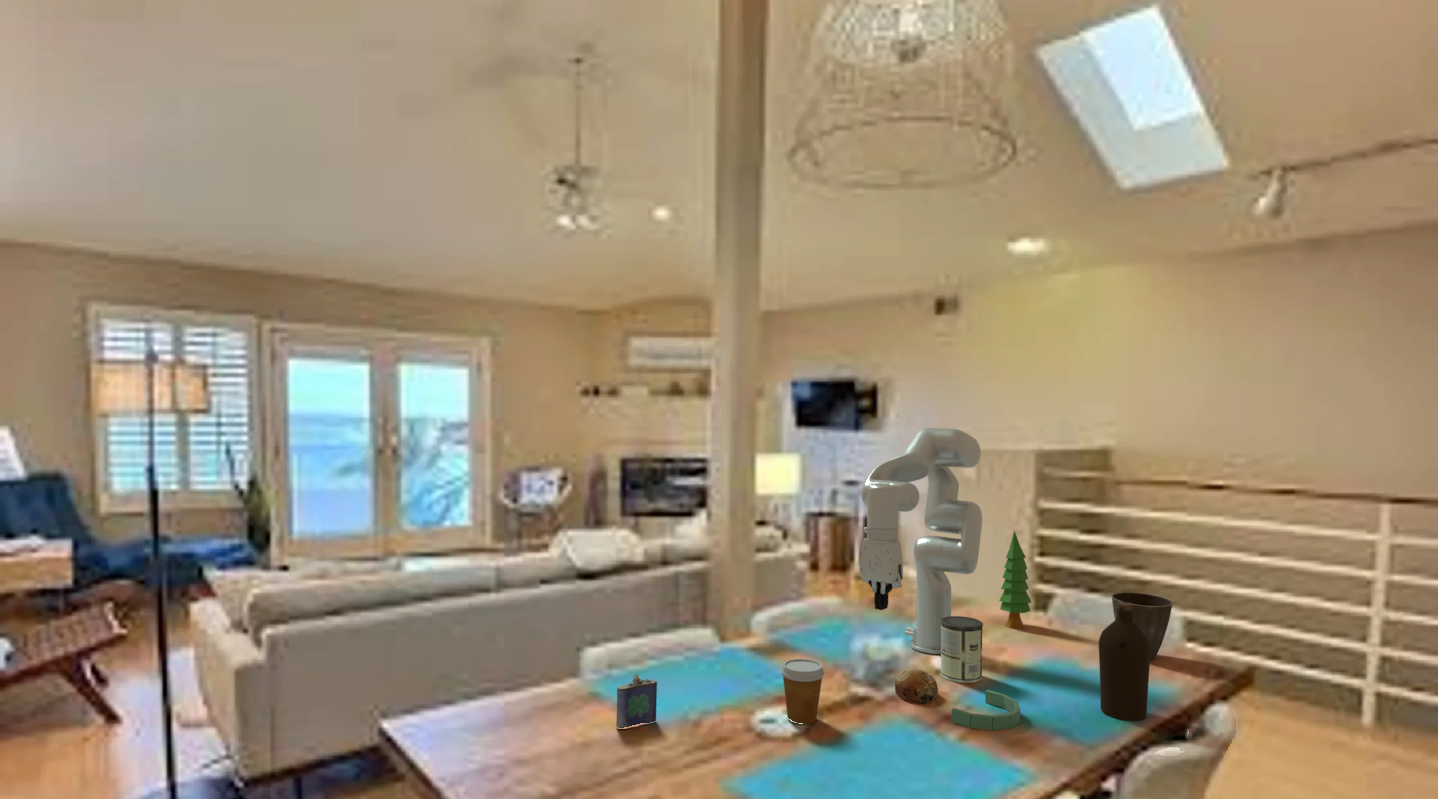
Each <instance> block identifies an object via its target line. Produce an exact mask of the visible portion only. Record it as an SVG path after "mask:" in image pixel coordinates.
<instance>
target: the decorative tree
mask: <svg viewBox="0 0 1438 799" xmlns="http://www.w3.org/2000/svg"><path fill="white" fill-rule="evenodd" d="M1018 539H1019V538H1018V536H1017V533H1016V531H1015V530H1014V531H1013V534H1012V537H1011V542H1010V545H1009V549H1008V552H1007V554H1006V556H1005V559H1006V562H1005V564H1004V571H1003V572H1004V573H1003V575H1002V578H1003V579H1004V581H1003V583H1002V585H1001V590H1003V592H1002V593H1001V596H1000V599H999V600H998V601H999V602H1001V604H1000V608H999V610H1001V611H1004V612H1007V613H1009V614H1008V619H1007V620H1006V621H1005V622H1004V623H1003V625H1004V626H1005V627H1007V628H1009V629H1010V628H1011V629H1018V630H1022V629H1023V628H1024V626H1025V625H1024V623H1023V621H1022V618H1021V614H1024V613H1025V614H1026V613H1028V612H1031V608H1030V605H1029V604H1031V603H1032V600H1031V598H1030V597H1029V595H1028V592H1027V591H1028V590H1029V589H1030V588H1029V586H1028V585H1029V584H1028V583H1027V580H1029V577H1028V573H1027V569H1028V567H1027V566H1028V565H1027V564H1026V563H1027V562H1026V561H1025V559H1026V558H1027V557H1026V555H1025V553H1024V551H1023V549H1022V546H1021V544H1020V542H1019V540H1018Z"/></svg>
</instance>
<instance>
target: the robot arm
mask: <svg viewBox="0 0 1438 799" xmlns="http://www.w3.org/2000/svg"><path fill="white" fill-rule="evenodd" d="M981 454H982V452H981V446H980V444H979V441H977V439H976V438H975V437H974V436H972V435H970V434H968V433H967V432H965V431H963V430H960V429H958V428H946V427H945V428H943V427H942V428H941V427H939V428H938V427H924V428H922V429H920V430H918V431H917V432H916V433H915V434H914V435H913V437H912V439H911V440H910V442H909V443H908V445H907V446H906V448H905V450H904V451H903V452H902V454H900V455H899V456H895V457H893V458H891V459H889V460H887V461H885V462H883V463H881V464H879V465H878V466H877V467H876V466H875V467H874V469H873V470H872V471H871V473H870V474H869V476H867V479H866V480H865V482H864V484H863V486H862V490H861V499H862V503H863V504H864V505H865V506H866V508H867V514H866V518H867V519H866V524H867V525H866V526H865V527H863V529H862V530H863V533H865V534H866V537H864V538H863V541H862V546H861V549H860V550H861V552H860V558H859V576H860V577H861V580H862V582H863V583H866V584H868V585H869V586H870V587H871V591H872V592H873V594H874V595H873V596H874V598H873V599H874V601H873V603H874V609H875V610H879V611H884V610H887V609H888V606H889V593H891V591H893V590H894V589H899V588H902V587H903V584H902V580H903V577H904V576H903V575H904V562H903V550H902V545H901V541H900V540H899V512H905V513H907V512H908V513H909V512H910V511H913V510H914V509H916V507H917V506H918V505H919V500H920V492H919V489H918V487H917V486H916V485H915V484H914V483H911V482H916V481H920V480H922V479H925V478H926V477H927V478H928V479H927V481H928V485H927V486H928V487H927V495H926V501H925V508H924V517H923V518H924V519H923V520H924V525H925V527H926V528H927V529H928V530H929V531H932V532H938V533H944V534H952V535H953V534H954V535H960V536H961V537H960V538H955V537H947V536H940V535H938V536H937V535H924V536H920V537H919V538H917V540H915V542H914V545H913V558H914V564H915V572H916V573H915V574H916V613H915V616H916V617H915V618H916V620H915V621H916V623H915V628H914V627H910V626H906V627H905V630H904V635H905V636H908V637H910V636H911V637H912V639H911V640H910V642H909V645H910V648H912V649H913V650H915V651H917V652H922V653H925V654H931V655H941V619H942V618H945V617H950V616H952V585H951V582H950V580H949V577H947V576H948V575H946V573H952V574H953V573H954V574H958V575H959V574H961V575H970V574H972V573H974V571H975V570H976V568H977V565H978V562H979V561H978V560H979V554H980V553H979V552H980V546H981V539H982V538H981V537H982V536H981V535H982V528H983V514H982V510H981V508H980V506H979V505H978V503H976V502H973V501H968V500H959V498H958V496H959V488H960V484H959V481H958V479H957V476H956V474H954V473H953V471H952V470H951V468H967V469H968V468H969V469H971V468H974V467H976V466H977V464H978V463H979V462H980V459H981ZM950 467H951V468H950Z"/></svg>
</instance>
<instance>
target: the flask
mask: <svg viewBox="0 0 1438 799" xmlns="http://www.w3.org/2000/svg"><path fill="white" fill-rule="evenodd" d="M639 676H640V675H639V674H638V673H634V674H633V675H631V677H632V678H633V680H632V682H630V683H625V684H621V685H618V686H617V687H616V728H617V727H618V728H624V727H629V726H632V725H636V724H640V723H650V722H654V721H656V722H657V697H658V696H657V693H658V682H657V680H654V679H650V678H645V679H641V678H640V677H639Z"/></svg>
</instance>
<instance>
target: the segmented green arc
mask: <svg viewBox="0 0 1438 799" xmlns="http://www.w3.org/2000/svg"><path fill="white" fill-rule="evenodd" d="M985 704H989V705H992V706H996V707H998V708H1002V709H1004V710H1005V711H1007V713H1002V714H999V713H998V714H993V715H990V714H980V713H972V712H968V711H965V710H962V709H958V708H955V707H953V708H951V721H950V722H951V723H953V724H957V725H960V726H963V727H966V728H969V729H977V730H986V731H997V730H1000V731H1001V730H1007V729H1008V730H1009V729H1012V728H1014V727H1015V726H1017V725H1018V724H1020V723H1021V708H1020V703H1019V702H1018V701H1017V700H1016V699H1014V698H1012V697H1010V696H1008V695H1007V694H1005V693H1001V692H997V691H994V690H989V689H987V690H985Z"/></svg>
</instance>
